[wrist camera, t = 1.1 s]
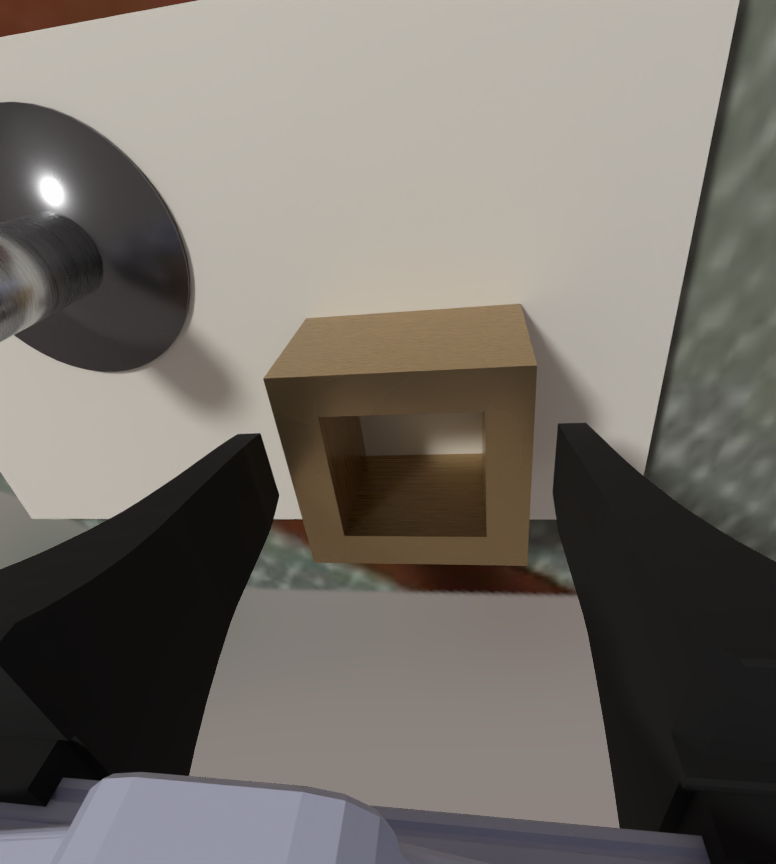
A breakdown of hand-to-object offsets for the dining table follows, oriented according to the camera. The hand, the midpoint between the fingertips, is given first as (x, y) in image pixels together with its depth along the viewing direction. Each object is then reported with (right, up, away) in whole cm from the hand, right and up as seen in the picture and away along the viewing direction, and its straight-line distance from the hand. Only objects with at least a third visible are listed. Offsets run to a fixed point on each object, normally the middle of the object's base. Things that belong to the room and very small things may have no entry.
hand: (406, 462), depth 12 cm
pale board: (-4, +4, +2) cm, 6 cm away
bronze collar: (0, +2, +2) cm, 3 cm away
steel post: (-9, +6, +2) cm, 11 cm away
